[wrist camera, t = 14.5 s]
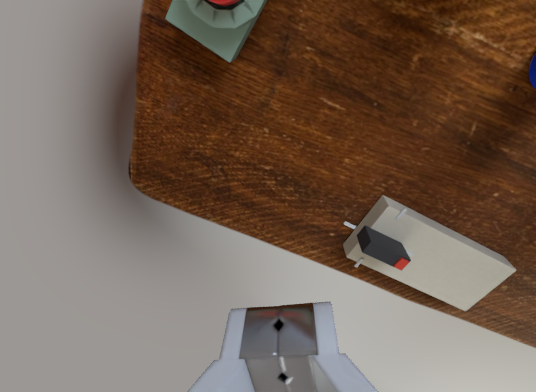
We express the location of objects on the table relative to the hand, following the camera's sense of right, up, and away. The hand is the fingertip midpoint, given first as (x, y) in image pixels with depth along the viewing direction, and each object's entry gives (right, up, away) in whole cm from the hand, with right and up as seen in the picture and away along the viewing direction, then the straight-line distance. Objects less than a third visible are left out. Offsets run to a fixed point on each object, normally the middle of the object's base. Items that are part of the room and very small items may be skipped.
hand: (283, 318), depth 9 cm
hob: (+17, -2, +28) cm, 33 cm away
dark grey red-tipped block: (+12, -1, +25) cm, 28 cm away
